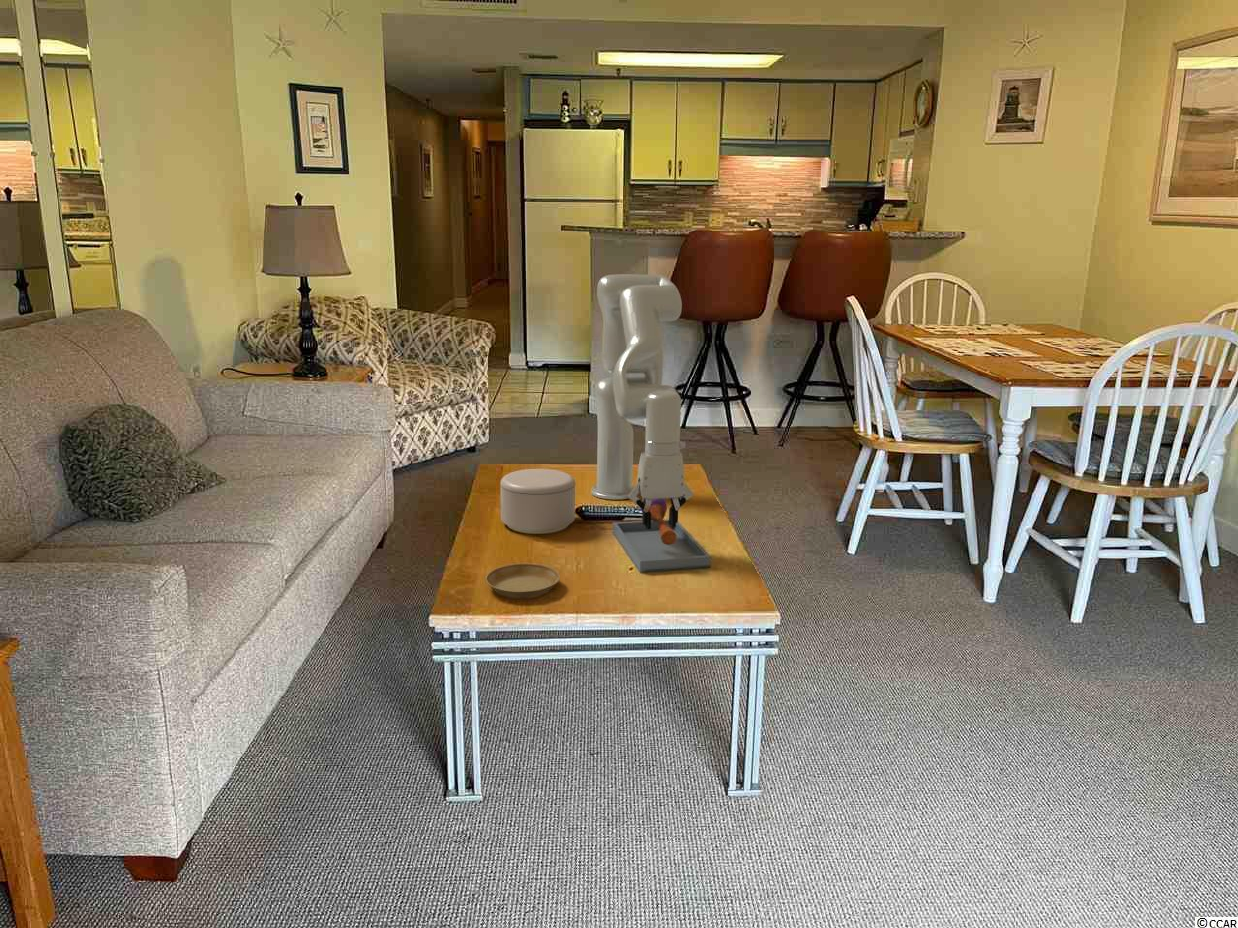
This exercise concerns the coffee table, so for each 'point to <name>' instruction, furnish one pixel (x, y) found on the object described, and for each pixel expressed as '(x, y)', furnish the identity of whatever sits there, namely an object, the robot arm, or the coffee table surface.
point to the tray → (660, 547)
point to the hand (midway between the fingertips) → (659, 525)
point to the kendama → (662, 521)
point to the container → (537, 500)
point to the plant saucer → (522, 580)
